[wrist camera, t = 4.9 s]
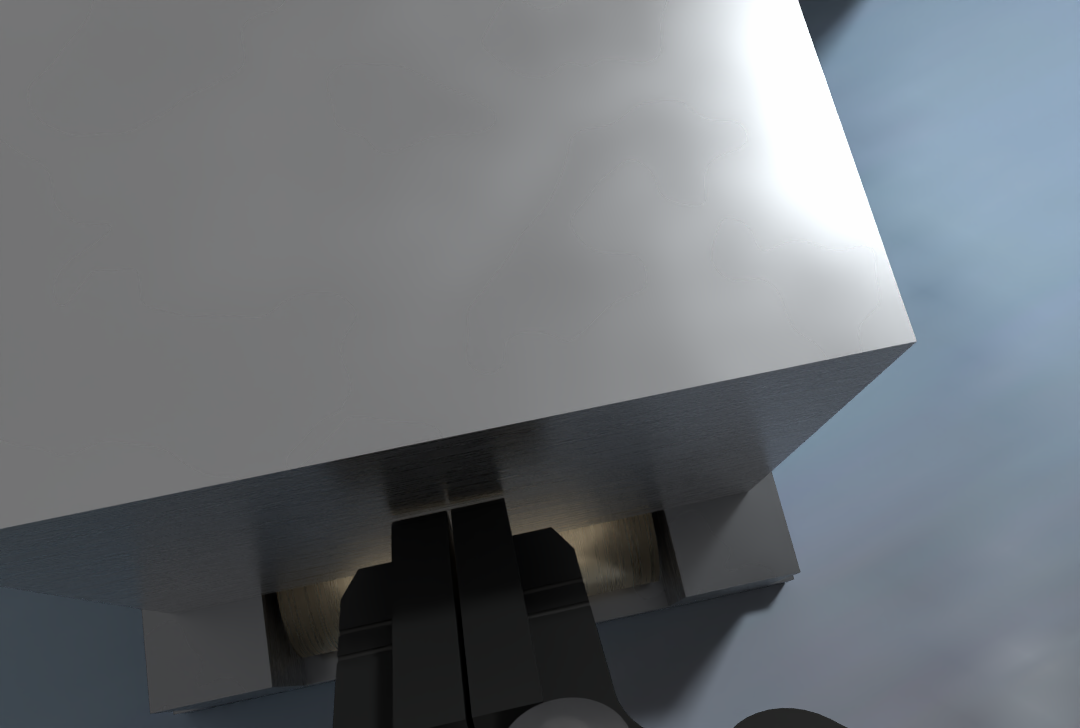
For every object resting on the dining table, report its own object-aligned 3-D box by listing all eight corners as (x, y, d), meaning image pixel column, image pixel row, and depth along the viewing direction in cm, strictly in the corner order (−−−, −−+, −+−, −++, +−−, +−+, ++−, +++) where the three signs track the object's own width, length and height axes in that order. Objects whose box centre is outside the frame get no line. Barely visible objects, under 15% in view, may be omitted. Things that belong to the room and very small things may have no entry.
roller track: (786, 581, 19) (828, 566, 16) (184, 713, 19) (119, 720, 16) (558, -226, 26) (560, -338, 23) (106, -150, 25) (49, -257, 22)
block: (748, 492, 17) (915, 341, 9) (172, 614, 16) (-158, 560, 9) (605, -22, 20) (642, -446, 12) (122, 64, 20) (-148, -327, 12)
